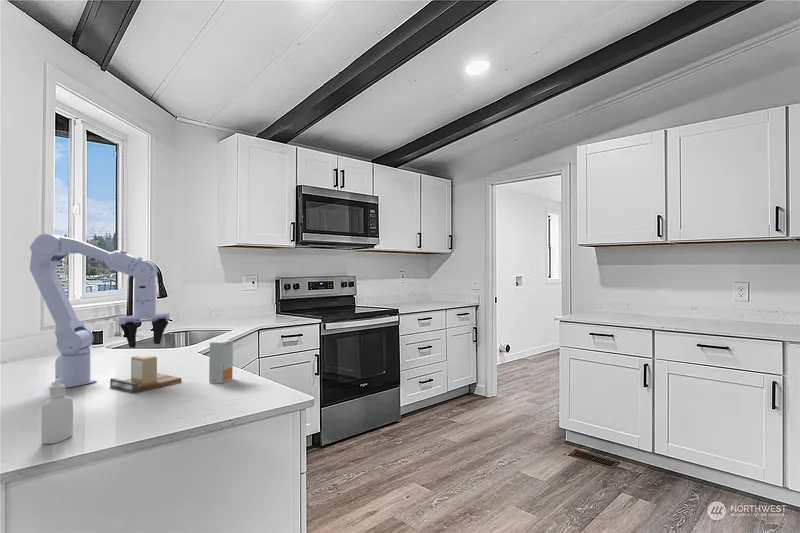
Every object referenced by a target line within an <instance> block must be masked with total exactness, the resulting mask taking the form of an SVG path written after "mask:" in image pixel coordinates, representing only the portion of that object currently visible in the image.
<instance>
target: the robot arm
mask: <svg viewBox="0 0 800 533" xmlns="http://www.w3.org/2000/svg"><path fill="white" fill-rule="evenodd" d="M29 249H30V252H31V254H30V255H31V256H30V263H29V271H30V273H31V275H32V277H33V279H34V282H35V283H36V285H37V287H38V290H39V292H40V293H41V296H42V299H43V300H44V302H45V304H46V307H47V309H48V311H49V314H51V317H52V320H53V321H54V323H55V325H56V326H55V330H54V335H55V336H56V348H57V350H58V352H60V353H59V355H58V356H57V358H56V360H55V362H54V363H55V364H54V368H55V373H54V380H56V379H60V381H61V384H63V385H65V389H68V388H74V387H77V386H78V387H79V386H82V385H88V384H92V383H96V382H97V381H98V380H96V379H92V378H91V349H90V347H91V346H92V345H93V342H94V339H95V338H94V333H92V331H91V330H90V329H88V328H87V327H86V326H85V324H84V322H83V321H81V320H80V319H79V318H78V317H77V314H76V313H75V311H74V308H73V306H72V304H71V302H70V300H69V298H68V296H67V293H66V292H65V290H64V287H63V284H62V283H61V281H60V278H59V276H58V274H57V272H56V268H57V267H58V265H59V264H60V262H61V261H63V259H65V258H66V257H67V256H69V255H71V254H73V255H74V254H80V255H83V256H86V257H88V258H91V259H93V260H94V259H95V260H98V261H101V262H104V263H105V264H106V266H107V268H108V269H110V270H113V271H116V272H119V273H122V274H124V275H127V276H130V277H133V279H134V286H133V289H134V290H133V293H134V295H133V297H134V298H133V315H126V316H120V317H119V316H118V325H120V329H121V330H122V331H123V333H124V335H125V337H126V341H127V343H128V347H129V348H130V349H131V348H132V349H135V348H136V345H137V343H136V341H137V340H136V339H137V338H136V337H137V330H138V327H139V325H138V324H135V323H143V322H151V325H152V330H153V344H155V345H160V344H161V341H162V337H163V335H164V332H165V330H166V328H167V326H168V325H169V320H170V313H169V312H163V313H156V308H157V306H156V305H157V304H156V303H157V298H156V295H157V293H156V287H157V286H156V277H157V275H158V270H159V269H158V267H157V265H156V264H155V263H153V262H152V261H150V260H143V257H141V256H138V257H136V256H133V255H131V254H128V253H127V251H126V250H113V251H111V252H110V251H107V250H106V249H102V248H100V247H97V246H95V245H92V244H91V243H88V242H85V241H82V240H80V239H75V238H72V237H67V236H63V235H55V234H54V235H53V234H49V233H42V234H40V235H38V236H36V237H35V239H34V240H33V242H32V243H31V245H30V246H29ZM54 384H55V381H51V385H54Z"/></svg>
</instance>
